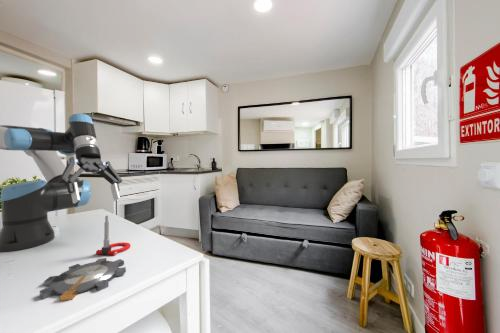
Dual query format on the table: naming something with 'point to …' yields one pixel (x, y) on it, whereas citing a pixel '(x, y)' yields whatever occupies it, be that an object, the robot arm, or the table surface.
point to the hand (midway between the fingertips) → (98, 200)
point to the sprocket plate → (83, 279)
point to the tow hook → (107, 248)
